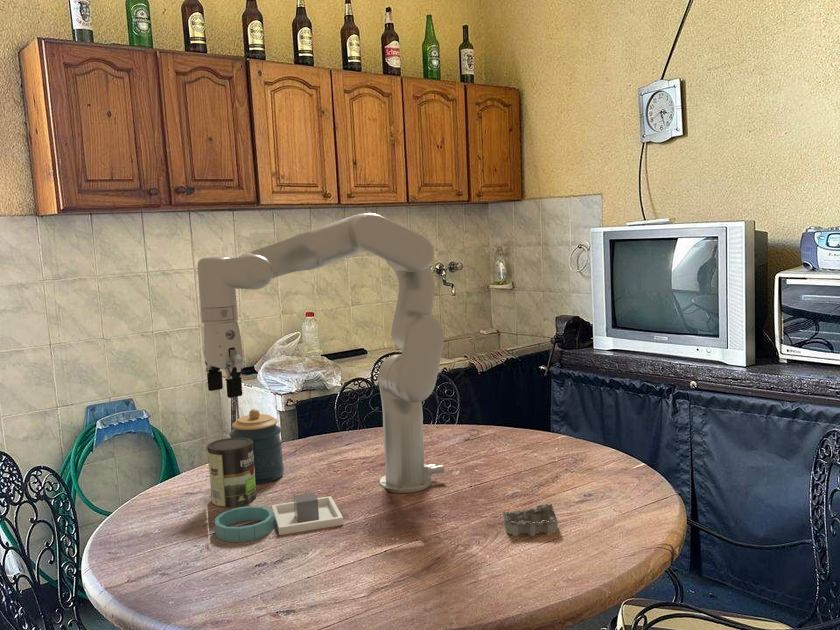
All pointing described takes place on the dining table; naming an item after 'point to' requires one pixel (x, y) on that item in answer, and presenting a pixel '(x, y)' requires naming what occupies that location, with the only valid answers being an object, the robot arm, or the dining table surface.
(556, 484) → the dining table surface
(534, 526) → the egg carton
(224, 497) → the coffee can
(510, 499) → the dining table surface
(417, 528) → the dining table surface
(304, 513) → the slate block
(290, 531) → the parts tray
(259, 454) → the canister
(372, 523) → the dining table surface
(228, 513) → the bowl
